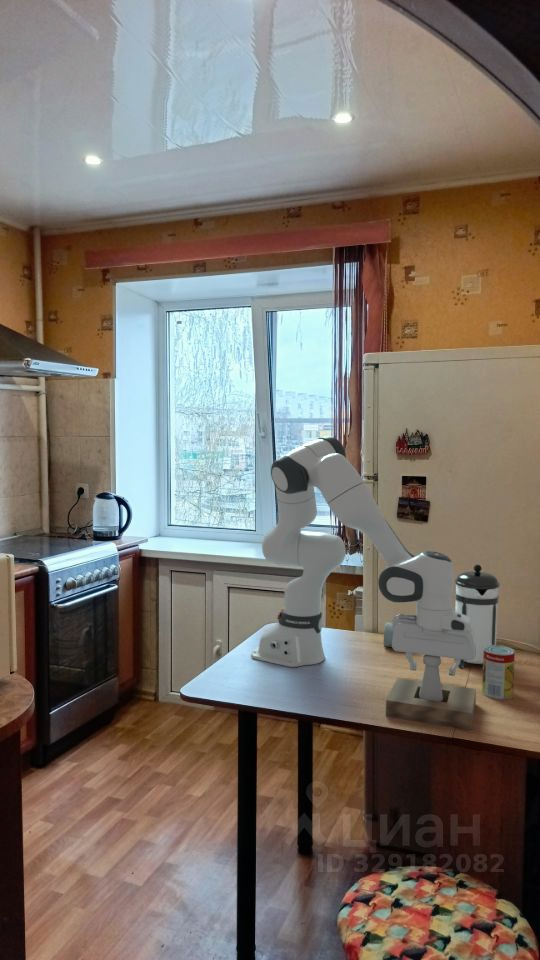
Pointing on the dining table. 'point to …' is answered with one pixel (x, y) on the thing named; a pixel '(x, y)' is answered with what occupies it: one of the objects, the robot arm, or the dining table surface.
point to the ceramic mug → (388, 635)
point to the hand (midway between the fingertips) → (432, 672)
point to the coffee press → (478, 607)
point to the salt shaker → (431, 679)
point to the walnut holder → (432, 704)
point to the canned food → (498, 672)
